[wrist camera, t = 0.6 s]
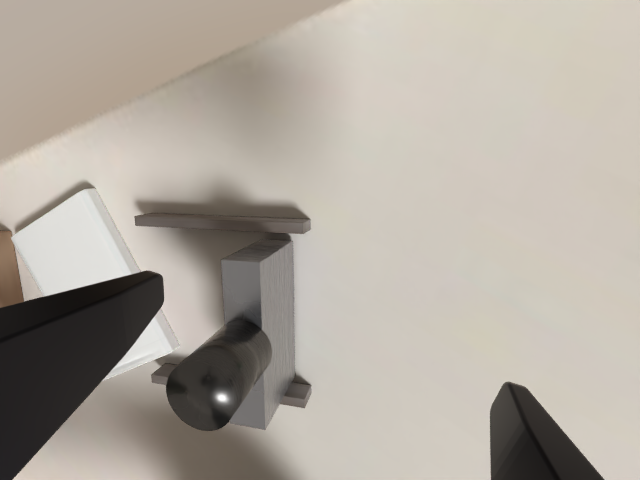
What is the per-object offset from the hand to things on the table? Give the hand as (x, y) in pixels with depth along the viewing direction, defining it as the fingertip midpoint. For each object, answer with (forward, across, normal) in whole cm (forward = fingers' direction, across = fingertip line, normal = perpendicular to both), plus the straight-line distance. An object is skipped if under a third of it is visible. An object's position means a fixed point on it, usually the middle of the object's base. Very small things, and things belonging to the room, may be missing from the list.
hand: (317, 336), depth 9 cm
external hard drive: (+11, +18, +12) cm, 24 cm away
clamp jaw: (+11, +4, +8) cm, 14 cm away
